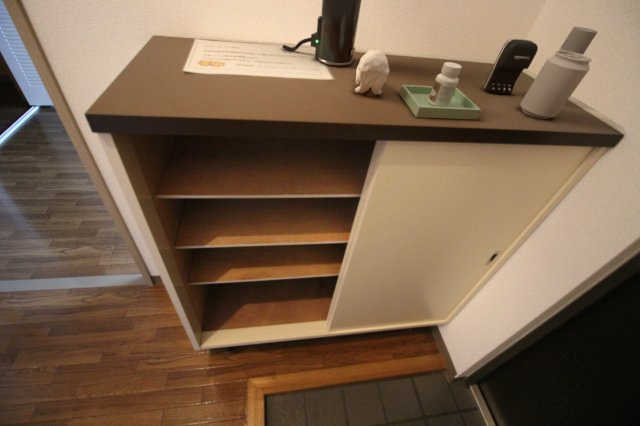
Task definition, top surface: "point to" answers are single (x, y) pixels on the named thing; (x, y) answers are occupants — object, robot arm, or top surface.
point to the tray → (422, 108)
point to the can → (555, 84)
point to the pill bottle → (445, 85)
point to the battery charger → (510, 65)
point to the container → (578, 40)
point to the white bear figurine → (372, 72)
